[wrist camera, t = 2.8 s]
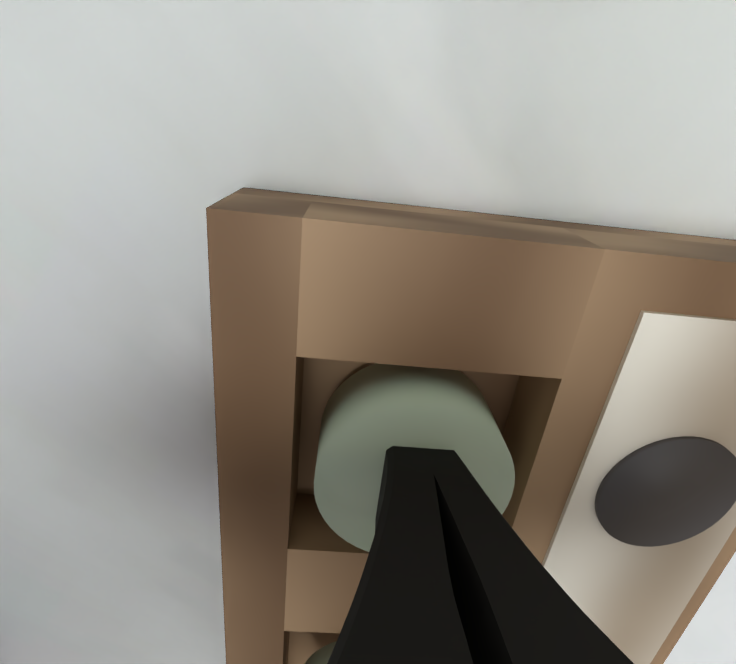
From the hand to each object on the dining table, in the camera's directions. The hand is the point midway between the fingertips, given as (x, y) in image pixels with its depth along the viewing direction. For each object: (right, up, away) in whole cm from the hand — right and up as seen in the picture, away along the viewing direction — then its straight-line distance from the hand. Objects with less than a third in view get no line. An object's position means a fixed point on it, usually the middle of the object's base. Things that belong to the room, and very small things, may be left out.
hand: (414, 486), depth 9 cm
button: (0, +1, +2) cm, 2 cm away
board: (+1, -6, +6) cm, 9 cm away
